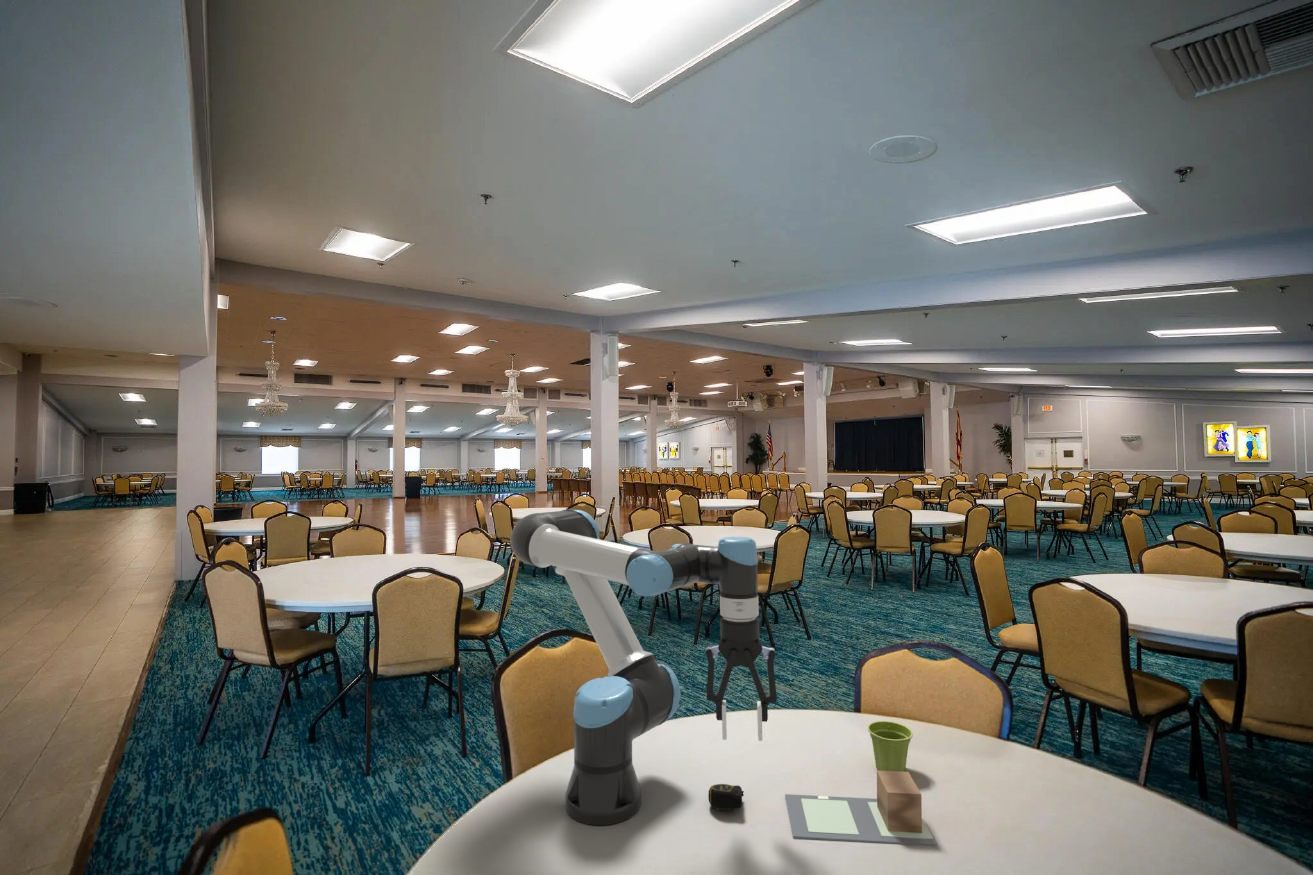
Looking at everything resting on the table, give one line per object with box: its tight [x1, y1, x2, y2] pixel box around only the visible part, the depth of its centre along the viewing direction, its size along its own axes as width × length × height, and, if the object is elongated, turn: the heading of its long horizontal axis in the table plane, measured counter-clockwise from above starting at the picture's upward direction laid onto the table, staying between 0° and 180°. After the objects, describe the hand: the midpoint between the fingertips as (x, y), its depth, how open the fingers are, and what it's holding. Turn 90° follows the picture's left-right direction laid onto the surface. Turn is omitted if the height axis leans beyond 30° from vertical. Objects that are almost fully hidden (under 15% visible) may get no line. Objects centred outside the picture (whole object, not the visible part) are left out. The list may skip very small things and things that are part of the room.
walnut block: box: [876, 769, 923, 833], centre depth 117 cm, size 6×8×7 cm
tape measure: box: [708, 783, 744, 811], centre depth 123 cm, size 7×7×4 cm
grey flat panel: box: [784, 793, 937, 847], centre depth 118 cm, size 25×14×1 cm, turn 84°
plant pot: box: [867, 720, 914, 772], centre depth 138 cm, size 9×9×9 cm
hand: (742, 736), depth 120 cm, fingers open, 6 cm apart
